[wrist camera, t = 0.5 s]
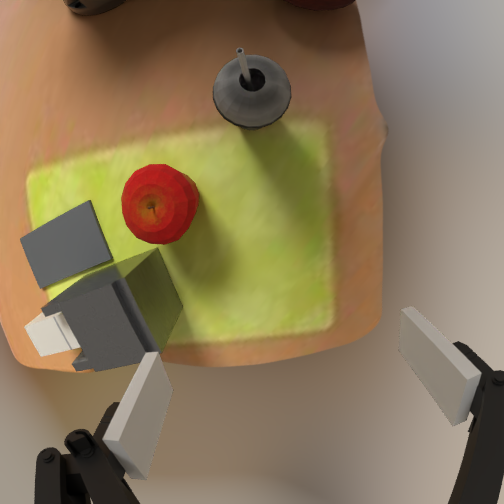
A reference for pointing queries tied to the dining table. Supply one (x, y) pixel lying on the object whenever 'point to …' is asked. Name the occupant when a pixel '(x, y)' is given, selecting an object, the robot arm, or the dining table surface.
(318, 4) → the potato
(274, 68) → the beverage cup
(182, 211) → the apple
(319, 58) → the dining table surface
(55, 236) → the mat
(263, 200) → the dining table surface
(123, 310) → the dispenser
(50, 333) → the white rectangular block
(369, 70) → the dining table surface
